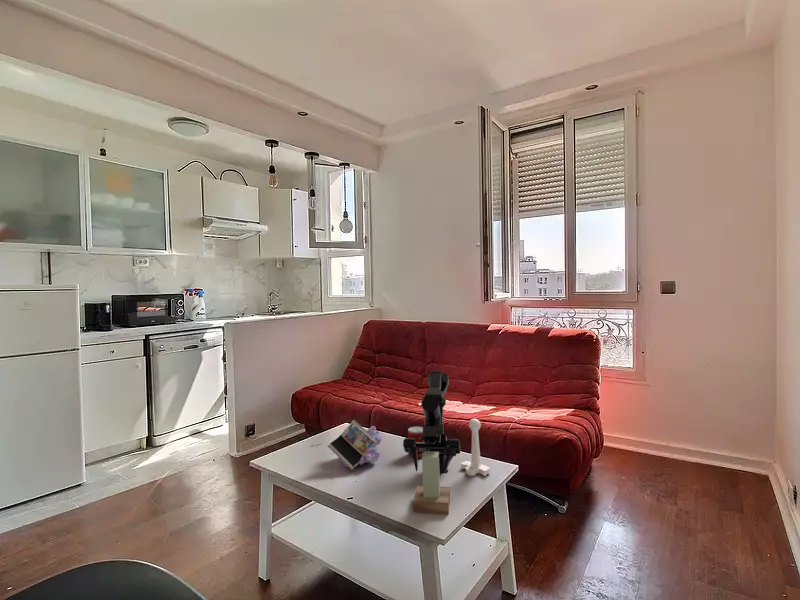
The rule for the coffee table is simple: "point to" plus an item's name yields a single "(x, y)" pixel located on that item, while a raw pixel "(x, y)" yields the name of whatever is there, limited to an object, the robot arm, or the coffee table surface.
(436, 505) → the base block
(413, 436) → the canned food
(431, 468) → the post
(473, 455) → the joystick
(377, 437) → the colorful box
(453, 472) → the coffee table surface
